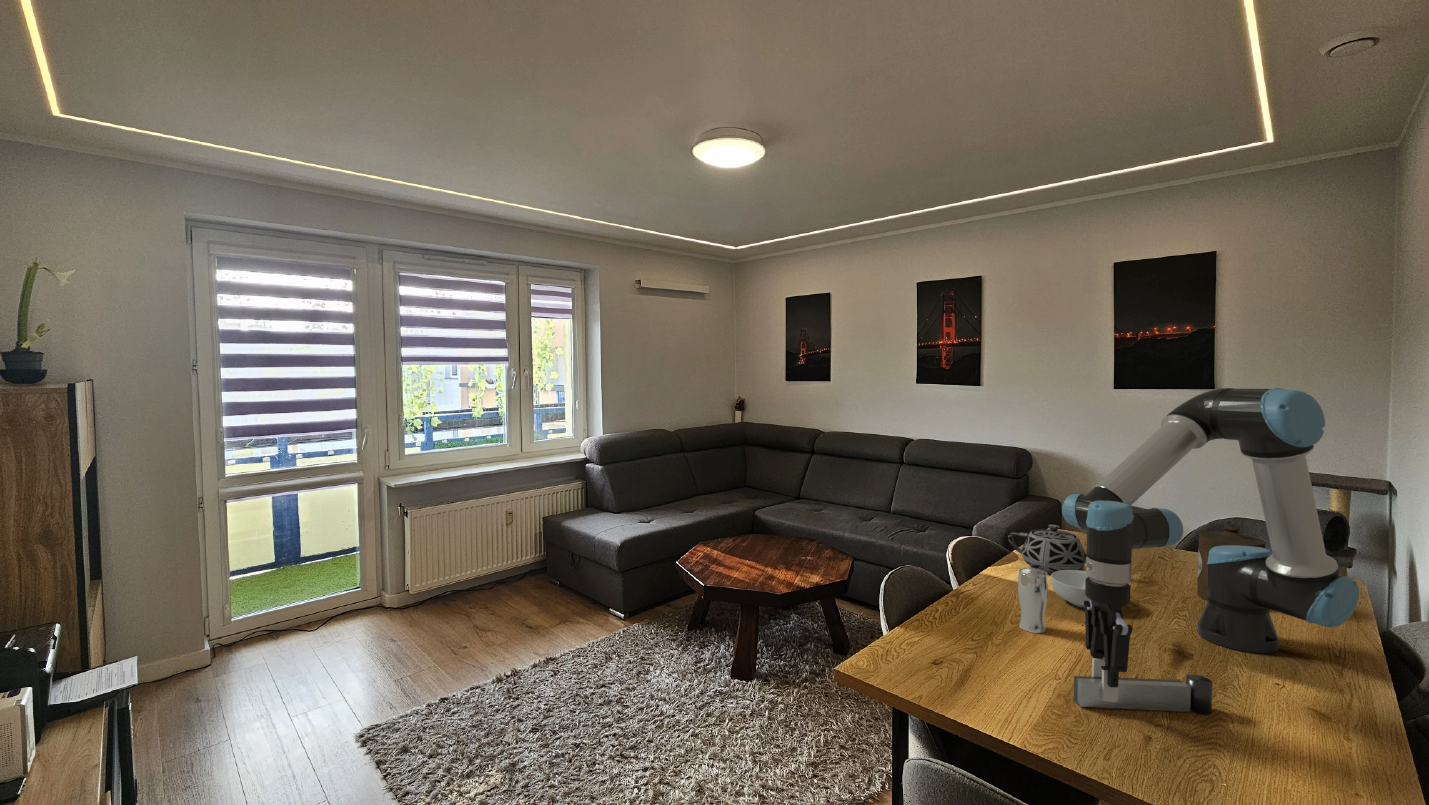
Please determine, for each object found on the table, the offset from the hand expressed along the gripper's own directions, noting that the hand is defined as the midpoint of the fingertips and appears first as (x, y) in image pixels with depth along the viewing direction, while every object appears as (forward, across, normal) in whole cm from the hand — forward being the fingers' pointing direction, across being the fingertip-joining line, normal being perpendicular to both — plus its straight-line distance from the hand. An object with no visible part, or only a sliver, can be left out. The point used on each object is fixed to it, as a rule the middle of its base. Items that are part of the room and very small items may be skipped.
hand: (1104, 695), depth 120 cm
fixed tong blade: (+2, 0, +7) cm, 7 cm away
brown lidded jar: (+2, -61, +65) cm, 89 cm away
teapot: (+2, -85, +28) cm, 89 cm away
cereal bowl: (+2, -55, +22) cm, 59 cm away
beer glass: (+2, -36, +1) cm, 36 cm away
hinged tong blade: (+2, +1, +5) cm, 5 cm away
